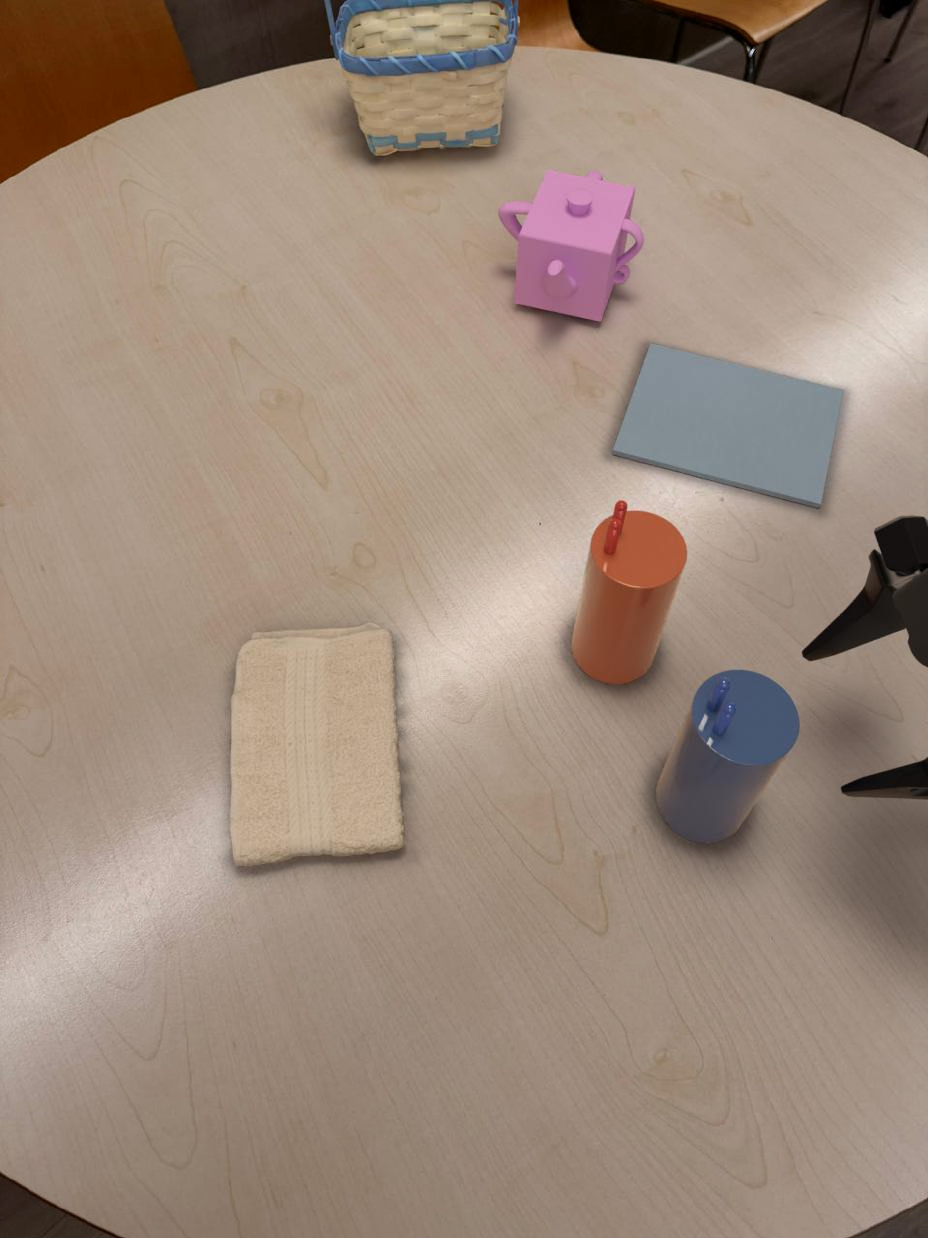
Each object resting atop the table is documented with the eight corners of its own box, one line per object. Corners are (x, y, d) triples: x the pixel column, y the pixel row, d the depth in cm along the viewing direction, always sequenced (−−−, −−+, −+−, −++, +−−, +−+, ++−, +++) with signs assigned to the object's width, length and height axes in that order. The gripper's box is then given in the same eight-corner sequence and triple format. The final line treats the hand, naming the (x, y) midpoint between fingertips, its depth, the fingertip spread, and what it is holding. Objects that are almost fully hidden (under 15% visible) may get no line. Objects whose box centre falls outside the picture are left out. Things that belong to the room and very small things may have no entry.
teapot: (610, 367, 95) (626, 278, 86) (467, 335, 97) (468, 245, 88) (649, 247, 104) (667, 155, 96) (518, 219, 106) (524, 128, 98)
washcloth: (393, 633, 79) (391, 611, 77) (411, 856, 70) (410, 841, 67) (238, 646, 79) (231, 625, 76) (235, 874, 69) (227, 859, 66)
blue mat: (841, 394, 93) (844, 389, 93) (819, 508, 86) (821, 503, 86) (649, 347, 96) (650, 342, 96) (611, 454, 89) (612, 449, 89)
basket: (509, 84, 119) (521, -152, 100) (522, 170, 111) (538, -70, 91) (331, 88, 119) (306, -149, 99) (330, 175, 110) (303, -66, 90)
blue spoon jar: (736, 755, 74) (800, 640, 61) (755, 840, 71) (828, 738, 57) (648, 760, 74) (693, 646, 60) (664, 846, 70) (715, 745, 57)
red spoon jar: (662, 626, 80) (706, 495, 66) (643, 694, 77) (685, 571, 63) (583, 603, 81) (610, 469, 67) (561, 670, 78) (584, 543, 64)
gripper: (976, 413, 54) (721, 548, 63) (1123, 735, 44) (796, 841, 53) (1047, 501, 61) (809, 611, 70) (1187, 795, 51) (889, 880, 60)
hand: (823, 721), depth 63 cm, fingers open, 9 cm apart
